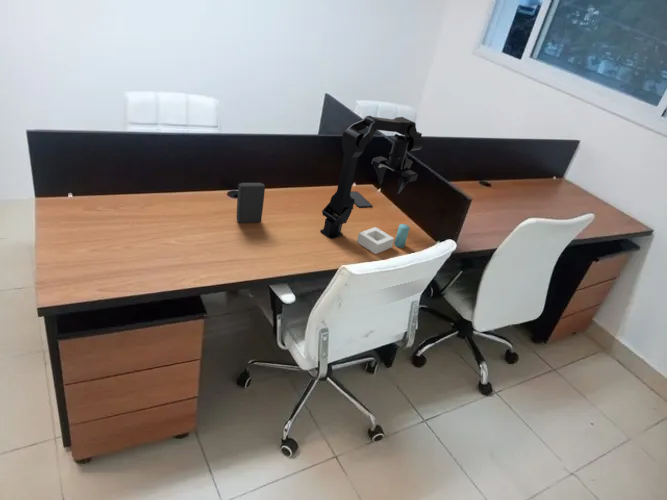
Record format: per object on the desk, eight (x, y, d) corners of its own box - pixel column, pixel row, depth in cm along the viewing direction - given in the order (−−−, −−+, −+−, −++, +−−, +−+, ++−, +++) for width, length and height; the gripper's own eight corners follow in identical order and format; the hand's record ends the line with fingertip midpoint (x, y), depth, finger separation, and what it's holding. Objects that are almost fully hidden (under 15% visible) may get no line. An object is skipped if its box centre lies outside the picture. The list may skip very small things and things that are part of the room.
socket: (375, 254, 173) (377, 244, 171) (356, 242, 178) (358, 232, 176) (391, 247, 179) (394, 238, 177) (373, 235, 184) (375, 226, 182)
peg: (400, 248, 179) (405, 230, 175) (392, 243, 182) (397, 225, 177) (406, 246, 182) (411, 227, 178) (398, 241, 184) (403, 223, 180)
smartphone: (357, 191, 217) (373, 205, 206) (357, 192, 218) (373, 207, 206) (343, 191, 214) (358, 206, 203) (342, 193, 214) (358, 208, 203)
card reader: (259, 217, 181) (263, 181, 173) (262, 223, 178) (266, 186, 170) (235, 218, 177) (238, 181, 170) (237, 224, 174) (240, 186, 167)
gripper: (430, 157, 182) (419, 194, 190) (392, 140, 192) (383, 176, 200) (413, 161, 175) (402, 200, 183) (375, 143, 185) (366, 181, 193)
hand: (389, 188), depth 190 cm, fingers open, 9 cm apart
